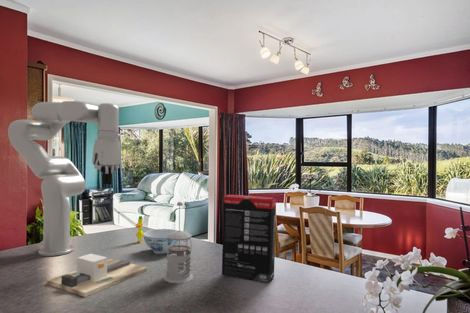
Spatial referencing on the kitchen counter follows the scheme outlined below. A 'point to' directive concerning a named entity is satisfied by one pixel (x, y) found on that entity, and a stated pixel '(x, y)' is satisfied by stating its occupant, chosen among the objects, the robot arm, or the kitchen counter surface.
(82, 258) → the block
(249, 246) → the graphics card box
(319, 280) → the kitchen counter surface
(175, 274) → the french press
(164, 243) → the chinaware
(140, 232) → the toy figure
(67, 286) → the din panel
